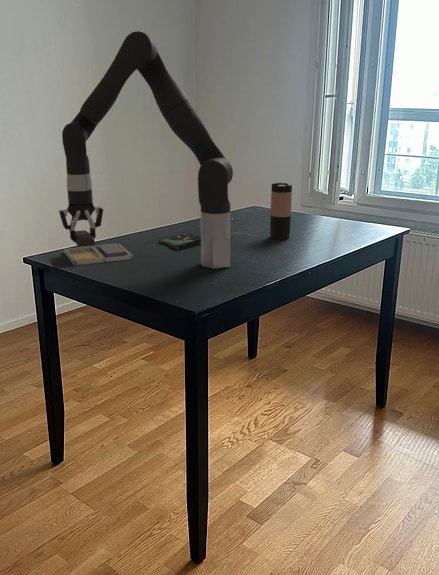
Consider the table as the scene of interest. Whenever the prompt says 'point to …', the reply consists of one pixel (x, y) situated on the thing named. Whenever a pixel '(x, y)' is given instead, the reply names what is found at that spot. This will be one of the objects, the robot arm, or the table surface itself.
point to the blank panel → (110, 250)
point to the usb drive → (84, 238)
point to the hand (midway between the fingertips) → (83, 240)
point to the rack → (93, 255)
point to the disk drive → (181, 241)
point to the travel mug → (280, 211)
